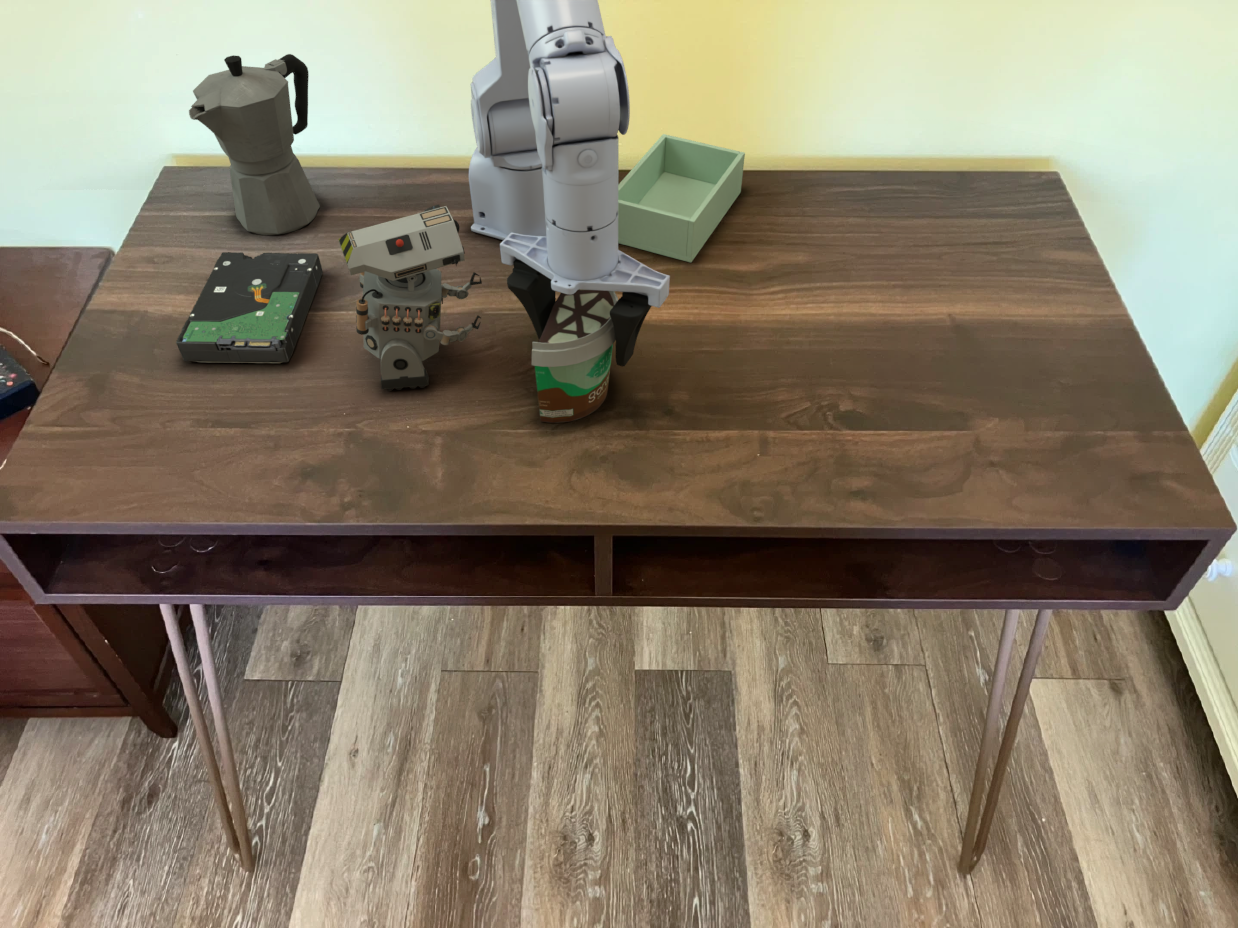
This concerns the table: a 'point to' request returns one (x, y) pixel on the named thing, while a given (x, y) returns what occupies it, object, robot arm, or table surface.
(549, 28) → the robot arm
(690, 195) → the storage bin
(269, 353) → the disk drive
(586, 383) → the food container
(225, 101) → the coffeepot
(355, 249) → the figurine
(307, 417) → the table surface
